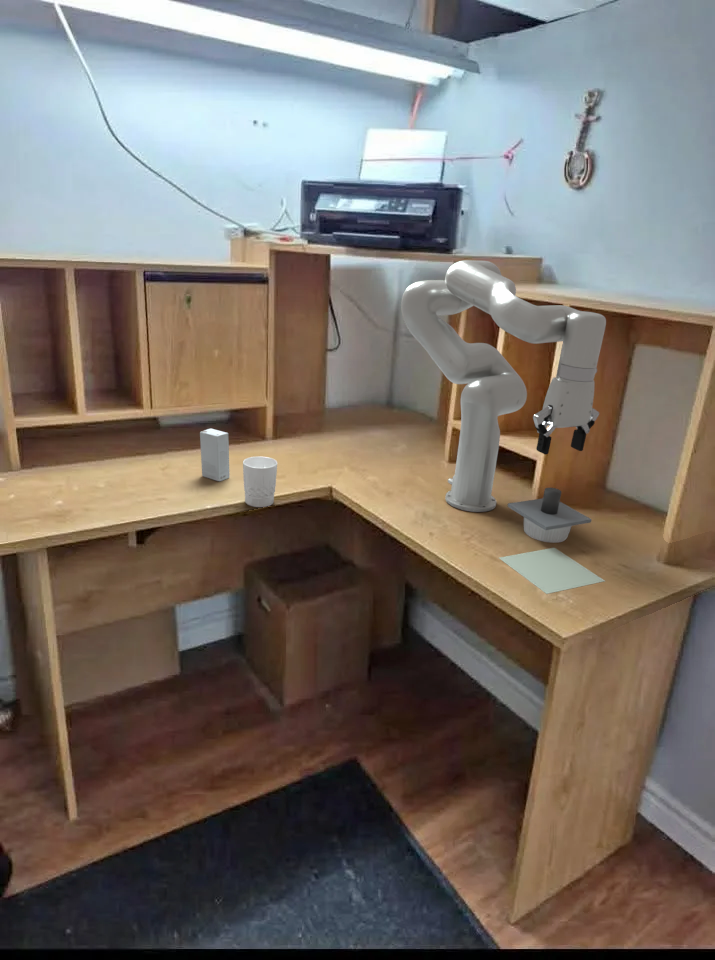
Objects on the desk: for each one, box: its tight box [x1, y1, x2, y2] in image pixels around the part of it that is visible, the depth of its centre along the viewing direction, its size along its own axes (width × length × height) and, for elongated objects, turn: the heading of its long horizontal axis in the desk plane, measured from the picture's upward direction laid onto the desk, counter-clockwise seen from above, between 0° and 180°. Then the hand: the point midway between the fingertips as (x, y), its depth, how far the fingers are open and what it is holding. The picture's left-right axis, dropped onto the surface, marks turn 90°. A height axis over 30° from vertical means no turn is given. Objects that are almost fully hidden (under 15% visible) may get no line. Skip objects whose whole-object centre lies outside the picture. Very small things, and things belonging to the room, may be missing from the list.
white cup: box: [242, 456, 278, 508], centre depth 156 cm, size 8×8×10 cm
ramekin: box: [523, 517, 572, 544], centre depth 151 cm, size 11×11×5 cm
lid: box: [507, 487, 592, 530], centre depth 149 cm, size 13×13×6 cm
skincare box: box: [199, 428, 231, 482], centre depth 168 cm, size 6×4×12 cm
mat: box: [498, 547, 606, 595], centre depth 135 cm, size 15×15×1 cm
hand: (559, 450), depth 144 cm, fingers open, 9 cm apart
